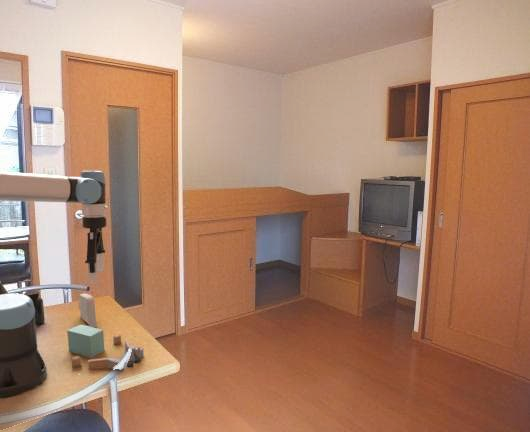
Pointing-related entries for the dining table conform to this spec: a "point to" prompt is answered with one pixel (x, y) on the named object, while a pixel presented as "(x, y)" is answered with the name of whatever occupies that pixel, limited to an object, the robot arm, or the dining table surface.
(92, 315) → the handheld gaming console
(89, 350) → the pale green block
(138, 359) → the bosses
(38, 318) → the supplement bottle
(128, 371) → the dining table surface
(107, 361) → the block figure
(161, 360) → the dining table surface
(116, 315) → the dining table surface
